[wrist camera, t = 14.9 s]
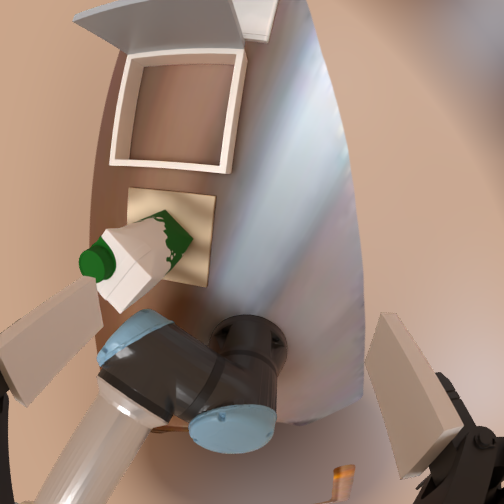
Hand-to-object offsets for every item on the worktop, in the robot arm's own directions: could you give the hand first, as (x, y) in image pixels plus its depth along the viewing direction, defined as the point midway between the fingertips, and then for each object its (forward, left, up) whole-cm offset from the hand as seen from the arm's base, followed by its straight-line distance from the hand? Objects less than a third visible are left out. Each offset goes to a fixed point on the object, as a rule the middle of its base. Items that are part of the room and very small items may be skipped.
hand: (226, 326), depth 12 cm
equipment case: (+19, +16, -35) cm, 43 cm away
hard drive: (+35, +7, -36) cm, 51 cm away
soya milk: (-7, +16, -34) cm, 39 cm away
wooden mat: (-7, +16, -35) cm, 39 cm away
